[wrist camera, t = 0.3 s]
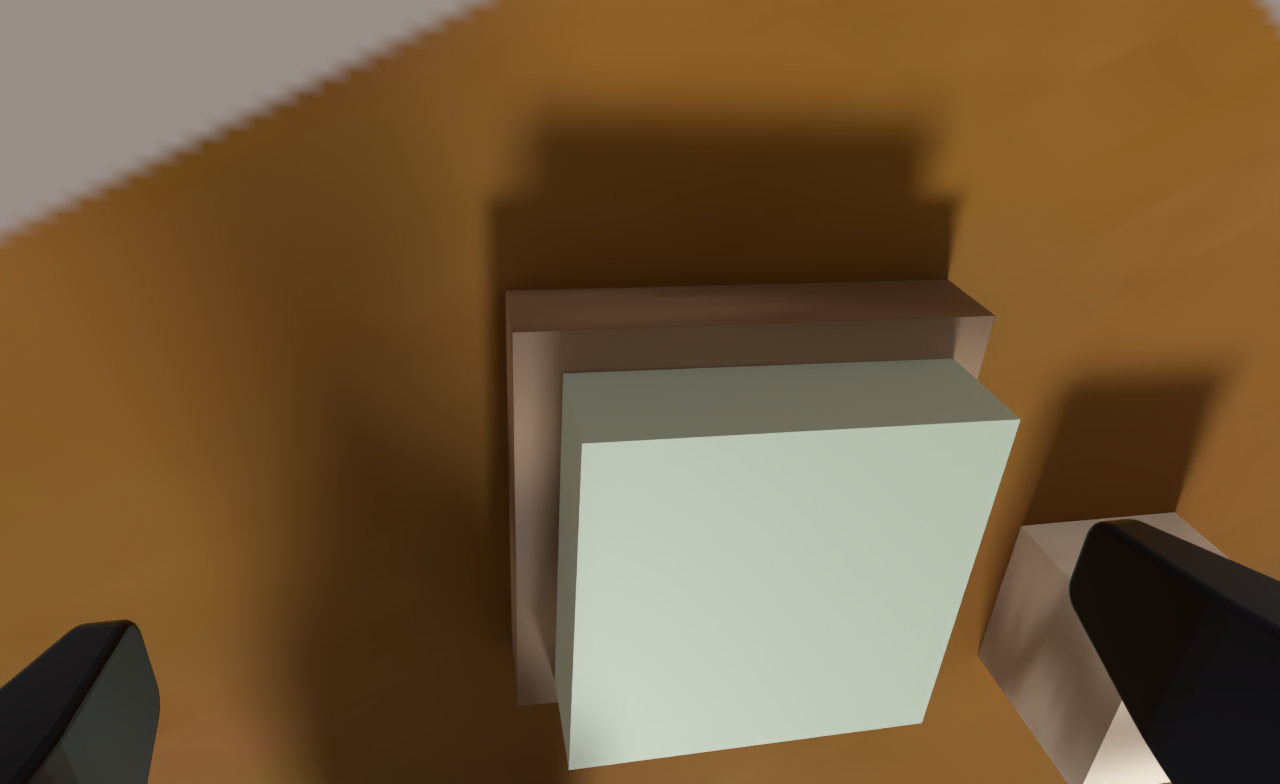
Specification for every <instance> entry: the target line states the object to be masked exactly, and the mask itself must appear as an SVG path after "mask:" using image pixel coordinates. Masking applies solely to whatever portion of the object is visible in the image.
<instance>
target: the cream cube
mask: <svg viewBox="0 0 1280 784" xmlns="http://www.w3.org/2000/svg"><path fill="white" fill-rule="evenodd" d="M1119 519H1135V520H1139V521H1142V522H1144V523H1146V524H1149V525H1151V526H1153V527H1156V528H1158V529H1160V530H1163V531H1165V532H1167V533H1169V534H1172V535H1174V536H1176V537H1179V538H1181V539H1183V540H1186V541H1188V542H1190V543H1193V544H1195V545H1197V546H1200V547H1202V548H1204V549H1206V550H1209V551H1211V552H1213V553H1216V554H1218V555H1220V556H1223V557H1225V558H1227V559H1229V558H1228V557H1227V556H1226V555H1224V554H1223V553H1222V552H1221V551H1220V550H1219V549H1217V548H1216V547H1215V546H1214V545H1213V544H1212V543H1210V542H1209V541H1208V540H1207V539H1206V538H1204V537H1203V536H1202V535H1201V534H1200V533H1199V532H1197V531H1196V530H1195V529H1194V528H1193V527H1192V526H1190V525H1189V524H1188V523H1187V522H1186V521H1185V520H1183V519H1182V518H1181V517H1180V516H1179V515H1177V514H1176V513H1175V512H1172V513H1160V514H1149V515H1138V516H1127V517H1116V518H1104V519H1093V520H1082V521H1071V522H1060V523H1048V524H1037V525H1026V526H1021V528H1020V531H1019V534H1018V537H1017V540H1016V543H1015V546H1014V549H1013V552H1012V555H1011V558H1010V561H1009V564H1008V567H1007V570H1006V573H1005V576H1004V579H1003V582H1002V585H1001V587H1000V590H999V593H998V596H997V599H996V602H995V605H994V608H993V611H992V614H991V617H990V620H989V623H988V626H987V629H986V632H985V635H984V638H983V641H982V644H981V647H980V649H979V652H978V656H979V658H980V659H981V661H982V662H983V664H984V665H985V666H986V668H987V669H988V671H989V672H990V674H991V675H992V676H993V678H994V679H995V681H996V682H997V684H998V685H999V686H1000V688H1001V689H1002V691H1003V692H1004V694H1005V695H1006V696H1007V698H1008V699H1009V701H1010V702H1011V704H1012V705H1013V706H1014V708H1015V709H1016V711H1017V712H1018V714H1019V715H1020V716H1021V718H1022V719H1023V721H1024V722H1025V723H1026V725H1027V726H1028V728H1029V729H1030V731H1031V732H1032V733H1033V735H1034V736H1035V738H1036V739H1037V741H1038V742H1039V743H1040V745H1041V746H1042V748H1043V749H1044V751H1045V752H1046V753H1047V755H1048V756H1049V758H1050V759H1051V761H1052V762H1053V763H1054V765H1055V766H1056V768H1057V769H1058V771H1059V772H1060V773H1061V775H1062V776H1063V778H1064V779H1065V781H1066V782H1067V783H1068V784H1160V783H1166V782H1170V780H1169V778H1168V777H1167V775H1166V774H1165V772H1164V771H1163V769H1162V768H1161V766H1160V765H1159V763H1158V762H1157V760H1156V759H1155V757H1154V755H1153V754H1152V752H1151V751H1150V749H1149V747H1148V746H1147V744H1146V743H1145V741H1144V739H1143V738H1142V736H1141V734H1140V732H1139V730H1138V729H1137V727H1136V725H1135V723H1134V722H1133V720H1132V718H1131V716H1130V714H1129V712H1128V711H1127V709H1126V707H1125V705H1124V703H1123V701H1122V699H1121V698H1120V696H1119V694H1118V692H1117V690H1116V688H1115V686H1114V684H1113V683H1112V681H1111V679H1110V677H1109V675H1108V673H1107V671H1106V669H1105V668H1104V666H1103V664H1102V662H1101V660H1100V658H1099V656H1098V654H1097V653H1096V651H1095V649H1094V647H1093V645H1092V643H1091V641H1090V640H1089V638H1088V636H1087V634H1086V632H1085V630H1084V628H1083V626H1082V625H1081V623H1080V621H1079V619H1078V617H1077V615H1076V613H1075V611H1074V610H1073V607H1072V605H1071V602H1070V599H1069V592H1068V588H1069V581H1070V578H1071V575H1072V572H1073V569H1074V567H1075V564H1076V561H1077V558H1078V556H1079V553H1080V550H1081V547H1082V545H1083V542H1084V539H1085V536H1086V534H1087V532H1088V530H1089V529H1090V528H1091V527H1092V526H1093V525H1094V524H1095V523H1098V522H1101V521H1109V520H1119Z"/></svg>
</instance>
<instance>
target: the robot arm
mask: <svg viewBox="0 0 1280 784" xmlns="http://www.w3.org/2000/svg"><path fill="white" fill-rule="evenodd" d="M1068 592H1069V599H1070V602H1071V605H1072V607H1073V610H1074V611H1075V613H1076V615H1077V617H1078V619H1079V621H1080V623H1081V625H1082V626H1083V628H1084V630H1085V632H1086V634H1087V636H1088V638H1089V640H1090V641H1091V643H1092V645H1093V647H1094V649H1095V651H1096V653H1097V654H1098V656H1099V658H1100V660H1101V662H1102V664H1103V666H1104V668H1105V669H1106V671H1107V673H1108V675H1109V677H1110V679H1111V681H1112V683H1113V684H1114V686H1115V688H1116V690H1117V692H1118V694H1119V696H1120V698H1121V699H1122V701H1123V703H1124V705H1125V707H1126V709H1127V711H1128V712H1129V714H1130V716H1131V718H1132V720H1133V722H1134V723H1135V725H1136V727H1137V729H1138V730H1139V732H1140V734H1141V736H1142V738H1143V739H1144V741H1145V743H1146V744H1147V746H1148V747H1149V749H1150V751H1151V752H1152V754H1153V755H1154V757H1155V759H1156V760H1157V762H1158V763H1159V765H1160V766H1161V768H1162V769H1163V771H1164V772H1165V774H1166V775H1167V777H1168V778H1169V780H1170V782H1171V783H1172V784H1280V581H1278V580H1276V579H1273V578H1271V577H1269V576H1266V575H1264V574H1262V573H1260V572H1257V571H1255V570H1253V569H1250V568H1248V567H1246V566H1243V565H1241V564H1239V563H1236V562H1234V561H1232V560H1230V559H1227V558H1225V557H1223V556H1220V555H1218V554H1216V553H1213V552H1211V551H1209V550H1206V549H1204V548H1202V547H1200V546H1197V545H1195V544H1193V543H1190V542H1188V541H1186V540H1183V539H1181V538H1179V537H1176V536H1174V535H1172V534H1169V533H1167V532H1165V531H1163V530H1160V529H1158V528H1156V527H1153V526H1151V525H1149V524H1146V523H1144V522H1142V521H1139V520H1135V519H1119V520H1109V521H1101V522H1098V523H1095V524H1094V525H1093V526H1092V527H1091V528H1090V529H1089V530H1088V532H1087V534H1086V536H1085V539H1084V542H1083V545H1082V547H1081V550H1080V553H1079V556H1078V558H1077V561H1076V564H1075V567H1074V569H1073V572H1072V575H1071V578H1070V581H1069V588H1068ZM159 713H160V696H159V690H158V686H157V682H156V679H155V676H154V673H153V670H152V666H151V663H150V660H149V657H148V654H147V651H146V647H145V644H144V641H143V638H142V635H141V632H140V630H139V628H138V627H137V625H136V624H135V623H134V622H132V621H129V620H115V621H105V622H95V623H86V624H82V625H79V626H77V627H75V628H73V629H72V630H70V631H69V632H68V633H66V634H65V635H64V636H63V637H62V638H60V639H59V640H58V641H57V642H56V643H54V644H53V645H52V646H51V647H50V648H48V649H47V650H46V651H45V652H43V653H42V654H41V655H40V656H39V657H37V658H36V659H35V660H34V661H33V662H31V663H30V664H29V665H28V666H27V667H25V668H24V669H23V670H22V671H21V672H19V673H18V674H17V675H16V676H15V677H13V678H12V679H11V680H10V681H9V682H7V683H6V684H5V685H4V686H3V687H1V688H0V784H147V782H148V776H149V770H150V765H151V759H152V754H153V748H154V743H155V737H156V732H157V726H158V721H159Z"/></svg>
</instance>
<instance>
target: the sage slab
mask: <svg viewBox="0 0 1280 784" xmlns="http://www.w3.org/2000/svg"><path fill="white" fill-rule="evenodd" d="M1019 423H1020V418H1019V417H1017V416H1016V415H1015V414H1014V413H1013V412H1012V411H1011V410H1010V409H1009V408H1008V407H1006V406H1005V405H1004V404H1003V403H1002V402H1001V401H1000V400H999V399H998V398H997V397H995V396H994V395H993V394H992V393H991V392H990V391H989V390H988V389H987V388H986V387H984V386H983V385H982V384H981V383H980V382H979V381H978V380H977V379H976V378H974V377H973V376H972V375H971V374H970V373H969V372H968V371H967V370H966V369H965V368H963V367H962V366H961V365H960V364H959V363H958V362H957V361H956V360H955V359H954V358H951V359H925V360H899V361H873V362H847V363H822V364H796V365H770V366H744V367H718V368H692V369H666V370H640V371H614V372H588V373H563V390H562V428H561V465H560V503H559V541H558V578H557V616H556V654H555V685H556V692H557V698H558V704H559V711H560V717H561V724H562V730H563V736H564V743H565V749H566V756H567V762H568V768H569V770H573V769H581V768H588V767H596V766H603V765H611V764H618V763H626V762H633V761H641V760H648V759H656V758H663V757H671V756H678V755H686V754H693V753H701V752H708V751H716V750H723V749H731V748H738V747H746V746H753V745H761V744H768V743H776V742H783V741H791V740H798V739H805V738H813V737H820V736H828V735H835V734H843V733H850V732H858V731H865V730H873V729H880V728H888V727H895V726H903V725H910V724H918V723H922V721H923V718H924V715H925V712H926V709H927V705H928V702H929V699H930V696H931V693H932V690H933V687H934V684H935V681H936V678H937V675H938V672H939V669H940V666H941V662H942V659H943V656H944V653H945V650H946V647H947V644H948V641H949V638H950V635H951V632H952V629H953V626H954V622H955V619H956V616H957V613H958V610H959V607H960V604H961V601H962V598H963V595H964V592H965V589H966V586H967V582H968V579H969V576H970V573H971V570H972V567H973V564H974V561H975V558H976V555H977V552H978V549H979V546H980V542H981V539H982V536H983V533H984V530H985V527H986V524H987V521H988V518H989V515H990V512H991V509H992V506H993V502H994V499H995V496H996V493H997V490H998V487H999V484H1000V481H1001V478H1002V475H1003V472H1004V469H1005V466H1006V463H1007V459H1008V456H1009V453H1010V450H1011V447H1012V444H1013V441H1014V438H1015V435H1016V432H1017V429H1018V426H1019Z"/></svg>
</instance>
